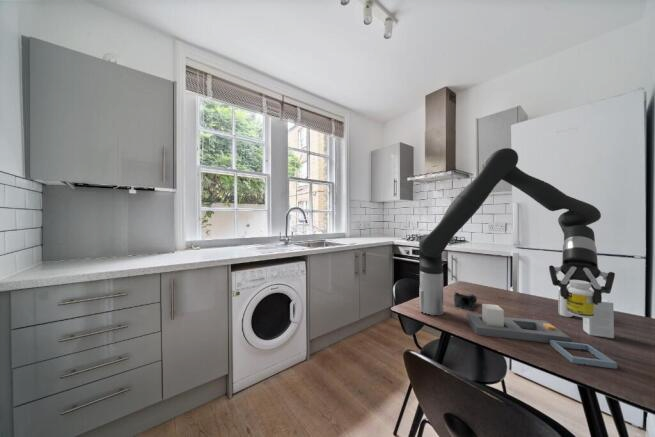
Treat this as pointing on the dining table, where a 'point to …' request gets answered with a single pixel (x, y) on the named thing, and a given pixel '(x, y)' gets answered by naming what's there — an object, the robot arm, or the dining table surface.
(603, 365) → the blue-grey square frame
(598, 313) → the skincare box
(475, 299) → the dark piece
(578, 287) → the supplement bottle
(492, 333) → the socket strip
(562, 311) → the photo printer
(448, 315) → the dining table surface
